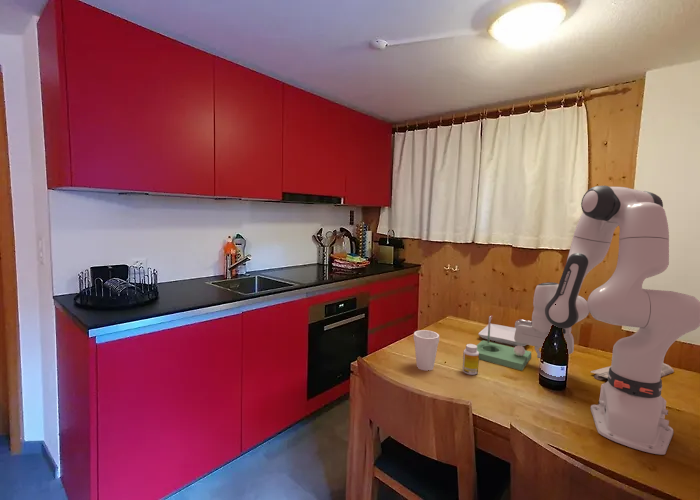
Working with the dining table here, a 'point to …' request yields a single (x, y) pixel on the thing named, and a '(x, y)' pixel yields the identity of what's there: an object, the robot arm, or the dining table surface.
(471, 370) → the supplement bottle
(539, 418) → the dining table surface
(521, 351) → the ball
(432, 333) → the foam cup
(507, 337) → the salad plate
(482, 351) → the golf putting green
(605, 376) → the newspaper
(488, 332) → the flag pin
